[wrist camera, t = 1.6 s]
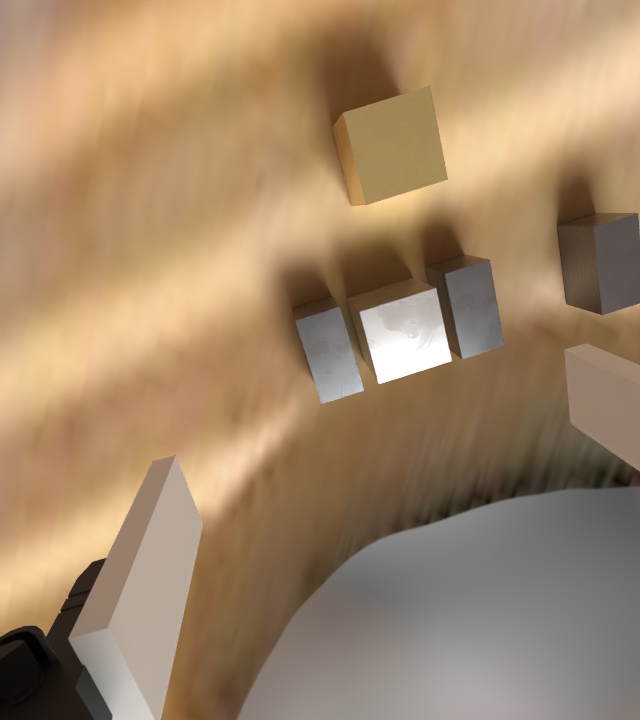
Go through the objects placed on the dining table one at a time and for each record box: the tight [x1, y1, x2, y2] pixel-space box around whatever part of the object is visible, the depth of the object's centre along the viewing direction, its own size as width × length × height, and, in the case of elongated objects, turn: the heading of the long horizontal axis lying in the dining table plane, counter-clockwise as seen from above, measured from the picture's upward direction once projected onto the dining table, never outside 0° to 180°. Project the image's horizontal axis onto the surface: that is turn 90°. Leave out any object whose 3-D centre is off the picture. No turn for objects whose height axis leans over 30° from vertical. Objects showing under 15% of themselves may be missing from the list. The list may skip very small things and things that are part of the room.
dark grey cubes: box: [292, 213, 640, 404], centre depth 33 cm, size 6×23×4 cm, turn 106°
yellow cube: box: [332, 86, 448, 206], centre depth 29 cm, size 5×5×5 cm
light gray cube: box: [347, 278, 452, 384], centre depth 32 cm, size 5×5×5 cm
